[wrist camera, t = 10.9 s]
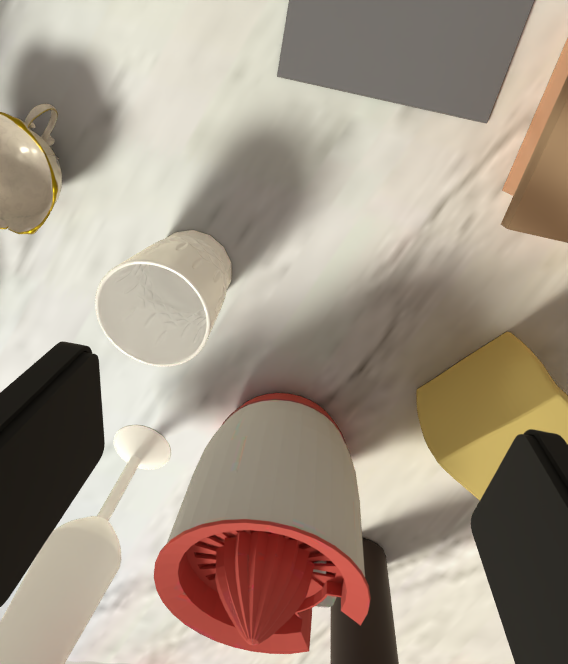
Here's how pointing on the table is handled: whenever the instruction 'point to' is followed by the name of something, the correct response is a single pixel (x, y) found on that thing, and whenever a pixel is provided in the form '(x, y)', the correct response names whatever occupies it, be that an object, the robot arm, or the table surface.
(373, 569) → the bottle
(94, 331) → the table surface
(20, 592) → the champagne flute
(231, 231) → the table surface
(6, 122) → the chinaware
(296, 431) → the citrus juicer
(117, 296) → the white cup
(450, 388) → the cheese
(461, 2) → the mat
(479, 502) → the robot arm
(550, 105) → the salmon orange open box
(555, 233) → the lid
